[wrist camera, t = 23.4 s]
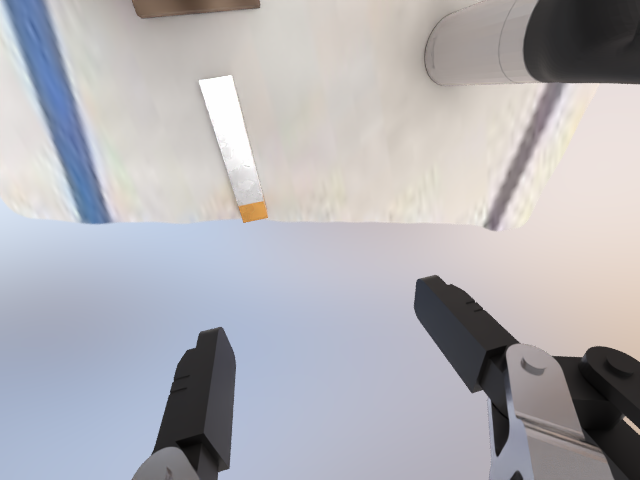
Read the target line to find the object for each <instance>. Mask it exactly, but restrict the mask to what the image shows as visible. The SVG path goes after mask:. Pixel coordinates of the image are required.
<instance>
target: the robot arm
mask: <svg viewBox="0 0 640 480" xmlns="http://www.w3.org/2000/svg"><path fill="white" fill-rule="evenodd" d="M425 63H426V69H427V71H428V74H429V76H430V77H431V79H432V80H433V81H434V82H436V83H437V84H440V85H444V86H453V85H489V84H520V83H553V82H560V83H621V84H640V0H485V1H482V2H480V3H477V4H475V5H472V6H469V7H467V8H464V9H462V10H459V11H457V12H454V13H452V14H449V15H447V16H446V17H445V18H443V19H442V20H441V21H440V22H439V23H438V24H437V25H436V27H435V28H434V30H433V31H432V33H431V35H430V37H429V40H428V43H427V46H426V53H425ZM414 309H415V313H416V316H417V318H418V319H419V321H420V322H421V324H422V325H423V326H424V328H425V329H426V331H427V332H428V333H429V335H430V336H431V337H432V339H433V340H434V342H435V343H436V344H437V346H438V347H439V349H440V350H441V351H442V353H443V354H444V355H445V357H446V358H447V360H448V361H449V362H450V364H451V365H452V366H453V368H454V369H455V371H456V372H457V373H458V375H459V376H460V377H461V379H462V380H463V382H464V383H465V384H466V386H467V387H468V389H469V390H470V391H471V393H474V392H477V391H481V390H484V392H485V393H486V394H487V396H488V399H487V406H488V421H489V434H490V448H491V468H490V474H489V480H640V435H638V433H636V432H635V431H634V430H633V429H632V428H631V427H630V426H629V425H628V424H627V423H626V422H625V421H624V420H623V418H624V417H625V416H626V417H627V418H629V419H630V420H631V421H632V422H633V423H634V424H635V425H636V426H637V427H638V428H639V429H640V362H639V361H637V360H636V359H634V358H633V357H631V356H629V355H627V354H625V353H623V352H620V351H618V350H615V349H612V348H608V347H601V346H596V347H591V348H590V349H588V350H587V351H586V353H585V355H584V356H583V357H561V356H551V355H549V354H548V353H547V352H545V351H543V350H541V349H539V348H537V347H535V346H532V345H528V344H521V343H519V342H518V341H517V340H516V339H515V338H514V337H513V336H511V334H510V333H508V331H506V330H505V329H504V328H503V327H502V326H501V325H500V324H499V323H498V322H497V321H496V320H495V319H494V318H493V317H492V316H491V315H490V314H488V313H487V312H486V311H485V310H483V308H482V307H481V306H480V305H479V304H478V303H477V302H476V303H475V300H474V299H473V298H471V297H470V296H469V295H468V294H467V293H466V292H465V291H463V290H462V289H460V288H458V287H456V286H454V285H452V284H450V285H447V284H446V283H445V282H444V281H443V280H442V279H441V278H440V277H439V276H437V275H433V276H429V277H425V278H421V279H418V280H417V282H416V292H415V301H414ZM235 372H236V362H235V355H234V352H233V349H232V347H231V345H230V343H229V341H228V338H227V336H226V334H225V331H224V330H223V328H222V327H218V328H214V329H210V330H206V331H202V332H200V333H199V336H198V340H197V346H196V348H193V349H189V350H187V351H186V353H185V354H184V356H183V357H182V359H181V360H180V362H179V363H178V365H177V368H176V372H175V376H174V382H173V383H172V387H171V390H170V395H169V397H168V401H167V405H166V408H165V412H164V415H163V419H162V423H161V426H160V430H159V434H158V438H157V441H156V444H155V447H154V450H153V452H152V454H151V456H150V457H149V458H148V459H147V460H146V461H145V462H144V463H143V464H142V465H141V466H140V467H139V469H138V470H137V472H136V473H135V475H134V477H133V478H132V480H217V479H218V472H220V471H223V470H227V469H229V467H230V450H231V436H232V420H233V404H234V387H235Z"/></svg>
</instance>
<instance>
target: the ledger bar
mask: <svg viewBox="0 0 640 480" xmlns="http://www.w3.org/2000/svg"><path fill="white" fill-rule="evenodd" d="M199 84H200V87H201V90H202V93H203V96H204V99H205V103H206V106H207V109H208V112H209V115H210V118H211V121H212V125H213V128H214V131H215V134H216V137H217V140H218V144H219V147H220V150H221V153H222V156H223V159H224V163H225V166H226V169H227V172H228V175H229V178H230V182H231V185H232V188H233V191H234V194H235V197H236V200H237V204H238V207H239V210H240V213H241V216H242V219H243V223H246V222H250V221H255V220H260V219H264V218H268V214H267V208H266V204H265V200H264V196H263V192H262V188H261V184H260V181H259V177H258V173H257V169H256V165H255V161H254V157H253V153H252V149H251V145H250V142H249V138H248V134H247V130H246V126H245V122H244V118H243V114H242V110H241V106H240V103H239V99H238V95H237V91H236V87H235V83H234V79H233V77H232V76H226V77H219V78H212V79H205V80H199Z"/></svg>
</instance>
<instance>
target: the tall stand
mask: <svg viewBox="0 0 640 480" xmlns="http://www.w3.org/2000/svg"><path fill="white" fill-rule="evenodd" d="M132 2H133V5H134V8H135V11H136V13H137V15H138V16H139V17H141V18H151V17H162V16H173V15H184V14H195V13H206V12H217V11H228V10H240V9H251V8H260V1H259V0H132Z"/></svg>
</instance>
